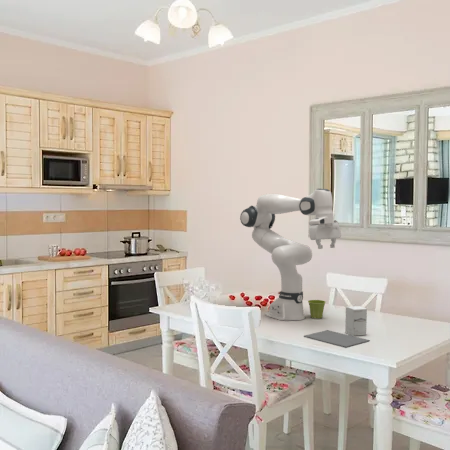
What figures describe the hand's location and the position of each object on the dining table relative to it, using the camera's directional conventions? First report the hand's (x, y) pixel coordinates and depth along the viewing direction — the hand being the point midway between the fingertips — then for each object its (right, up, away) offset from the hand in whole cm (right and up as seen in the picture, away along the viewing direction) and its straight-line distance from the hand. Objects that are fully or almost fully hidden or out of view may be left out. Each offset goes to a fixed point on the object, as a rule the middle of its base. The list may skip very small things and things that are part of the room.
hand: (326, 248), depth 274 cm
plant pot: (-2, -38, +21) cm, 43 cm away
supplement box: (+11, -40, -14) cm, 44 cm away
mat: (0, -40, -24) cm, 47 cm away
